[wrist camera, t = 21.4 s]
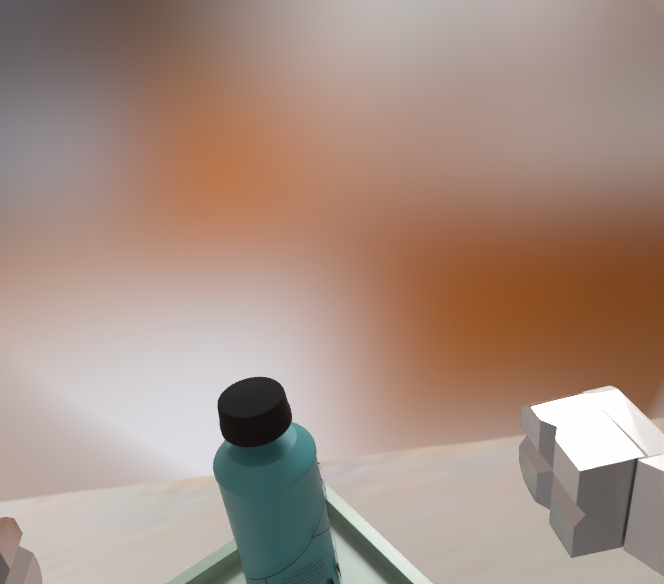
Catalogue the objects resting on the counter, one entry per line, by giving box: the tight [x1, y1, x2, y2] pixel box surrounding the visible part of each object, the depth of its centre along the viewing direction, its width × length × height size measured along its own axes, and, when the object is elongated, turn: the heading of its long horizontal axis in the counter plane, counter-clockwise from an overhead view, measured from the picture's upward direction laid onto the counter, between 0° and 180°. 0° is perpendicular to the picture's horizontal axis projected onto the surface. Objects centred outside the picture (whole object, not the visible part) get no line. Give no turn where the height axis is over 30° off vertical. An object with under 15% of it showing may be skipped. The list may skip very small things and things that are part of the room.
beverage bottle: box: [213, 377, 343, 584], centre depth 38 cm, size 6×7×20 cm
